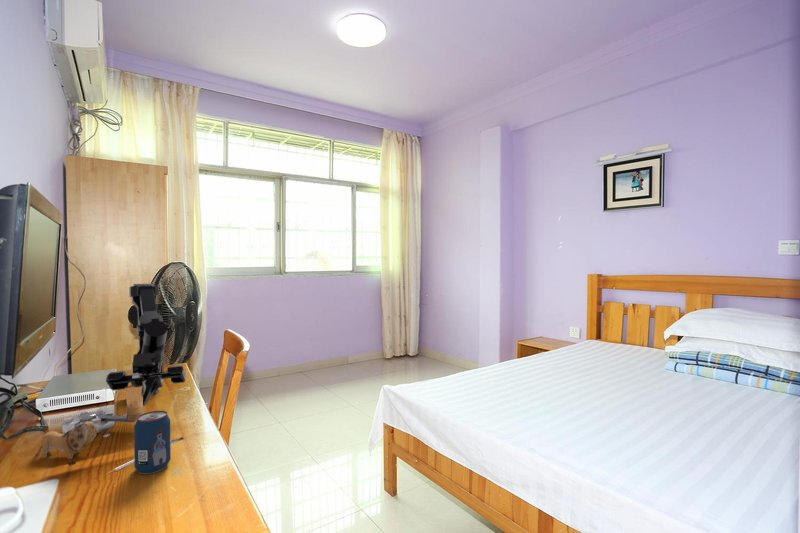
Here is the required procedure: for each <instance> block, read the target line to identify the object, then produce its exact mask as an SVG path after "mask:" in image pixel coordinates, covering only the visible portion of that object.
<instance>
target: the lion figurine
mask: <svg viewBox="0 0 800 533" xmlns="http://www.w3.org/2000/svg"><path fill="white" fill-rule="evenodd" d="M98 431H99V427H95V425H94V424H93V423H92V422H91V421H89V422H88V421H87V422H85V423H82V424H80V425H78V426H76V427H75V428H73V429H71V430H69V431H68V432H67V433H65V434H63V433H60V432H58V431H54V430H53V431H48V432H46V433H44V435H43V436H42V438H41V442H40V445H39V448H38V451H37V453H35V456H39V455H40V453H42V456H41V458H42V459H44V458H45V459H46V457H47V456H48V455H47V453H49V451H51V450H52V449H53V448H54V449H55V450H58V451H61V452H62V451H63V452H64V451H66V456H67V459H68V460H72V459H73V458H74V454H75V455H79V454H80V451H82V450H83V449H85V448H86V447H87V445H88V444H91V443H92V442H93V441H94V440H95V439H96V436H97V434H98V433H97V432H98ZM75 464H76V461H73V462H68V463H67V465H68V466H69V467H71V466H74V465H75Z"/></svg>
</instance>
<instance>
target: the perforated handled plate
mask: <svg viewBox="0 0 800 533" xmlns="http://www.w3.org/2000/svg"><path fill="white" fill-rule="evenodd" d="M126 414H127V416H124V415H115V411H114V410H112V411H109V409H108V408H107V407H102V408H100V409H98V410H97V411H92V412H88V411H86V410H82V411H77V416H76V415H75V416H70V417H64V418H63V420H62V434H65V433H67V432H68V431H69V430H71V429H73V428H75V427H76V426H78V425H80V424H82V423H85V422H87V421H88V422H89V421H91V422H92V423H93V424H94V425H95V427H99V431H98V432H97V434H100V433H101V432H104V431H107V430H108V429H111V428H112V427H113V426H114V425H115V422H117V423H118V422H119V423H136V422H137V418H138V417H139V416H140V415H142V414H144V406H143V385H132V384H131V385H128V387H127V388H126Z"/></svg>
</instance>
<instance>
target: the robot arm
mask: <svg viewBox="0 0 800 533" xmlns="http://www.w3.org/2000/svg"><path fill="white" fill-rule="evenodd" d="M159 295H160V294H159V285H156V284H154V283H134V284H133V286H130V287H129V297H130V298H131V303H132V304H133V305H134V308H136V310H137V325H136V337H138V351H137V353H135V354H133V358H132V362H131V369H130V370H131V371H130V372H131V374H129V375H127V372H126V371H125V370H121V371H111V372H110V373H108V374H107V375H106V380H105V381H106V384H107V385H108V386H109V388H110V390H112V391H119V390H125V389H127V387H128V386H130V385H129V384H131V385H143V407H145V406H146V405H147V403H148V401H149V400H150V399H151V397H152V396H154V395H155V396H156V395H158V393H159V392H160V388H162V387H163V381H164V380H165V379H166V380H167V379H170V382H171V383H172V384H181V383H183V384H184V383H185V382H186V378H187V376H186V375H187V374H186V370H185V368H184V365H181V364H180V365H173V366H171V365H170V366H167V369H166V371H163V370H164V362H163V360H164V353H165V352H164V351H165V345H166V340H167V334H168V332H170V330H171V329H170V327H169V326H168V325H167V323H166V322H164V318H163V315H161V314H160V313H158V309H157V301H156V299H157V297H158V296H159Z"/></svg>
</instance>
